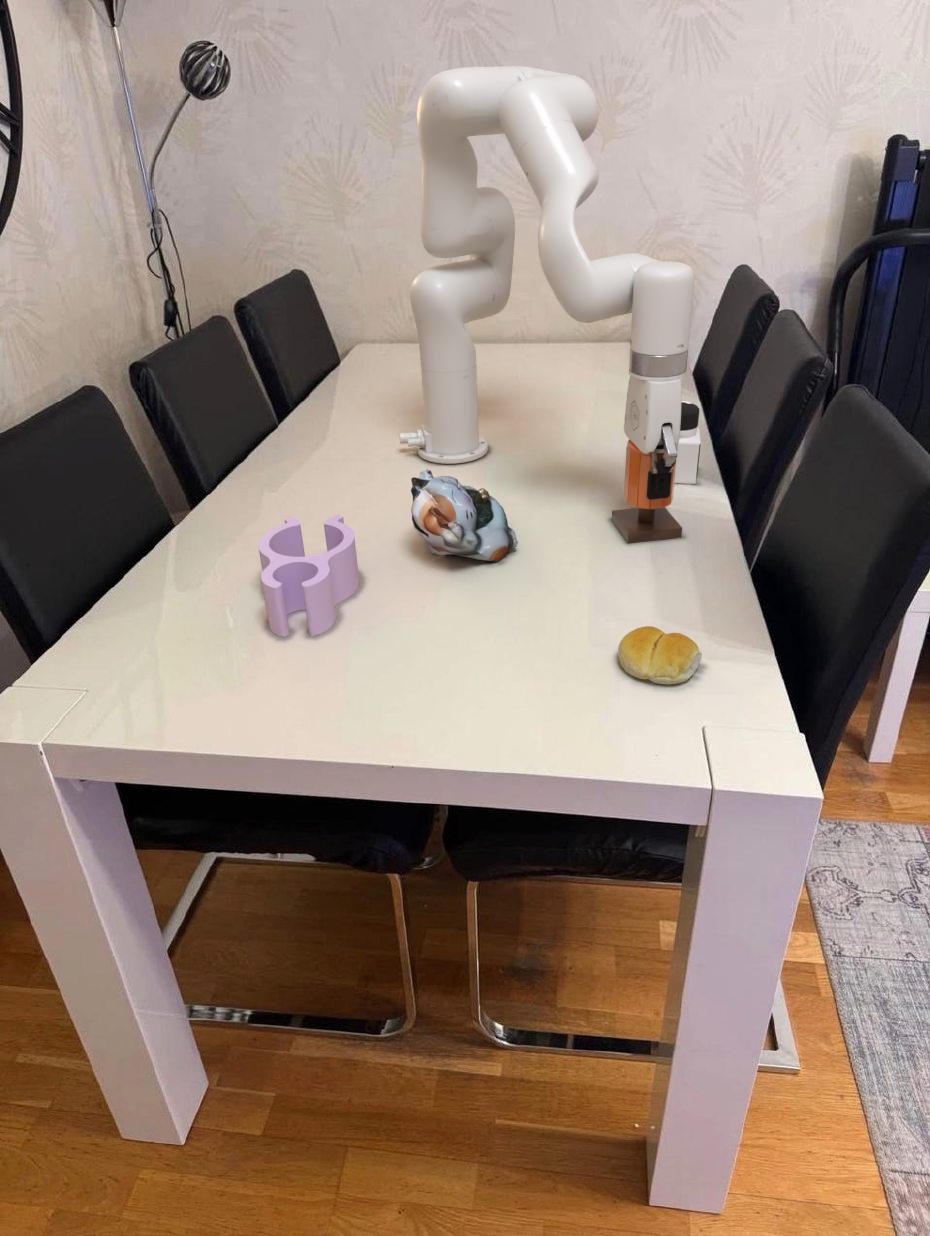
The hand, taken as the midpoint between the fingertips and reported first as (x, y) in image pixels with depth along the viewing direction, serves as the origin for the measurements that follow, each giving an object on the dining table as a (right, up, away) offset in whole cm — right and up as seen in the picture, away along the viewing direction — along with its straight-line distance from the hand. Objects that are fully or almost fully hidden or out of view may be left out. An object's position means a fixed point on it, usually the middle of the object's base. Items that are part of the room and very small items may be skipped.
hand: (649, 486), depth 128 cm
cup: (0, -2, +1) cm, 2 cm away
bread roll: (-4, -24, -26) cm, 36 cm away
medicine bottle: (+8, +5, +20) cm, 22 cm away
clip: (-47, -16, -10) cm, 50 cm away
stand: (0, -6, +4) cm, 7 cm away
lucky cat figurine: (-26, -9, 0) cm, 28 cm away
